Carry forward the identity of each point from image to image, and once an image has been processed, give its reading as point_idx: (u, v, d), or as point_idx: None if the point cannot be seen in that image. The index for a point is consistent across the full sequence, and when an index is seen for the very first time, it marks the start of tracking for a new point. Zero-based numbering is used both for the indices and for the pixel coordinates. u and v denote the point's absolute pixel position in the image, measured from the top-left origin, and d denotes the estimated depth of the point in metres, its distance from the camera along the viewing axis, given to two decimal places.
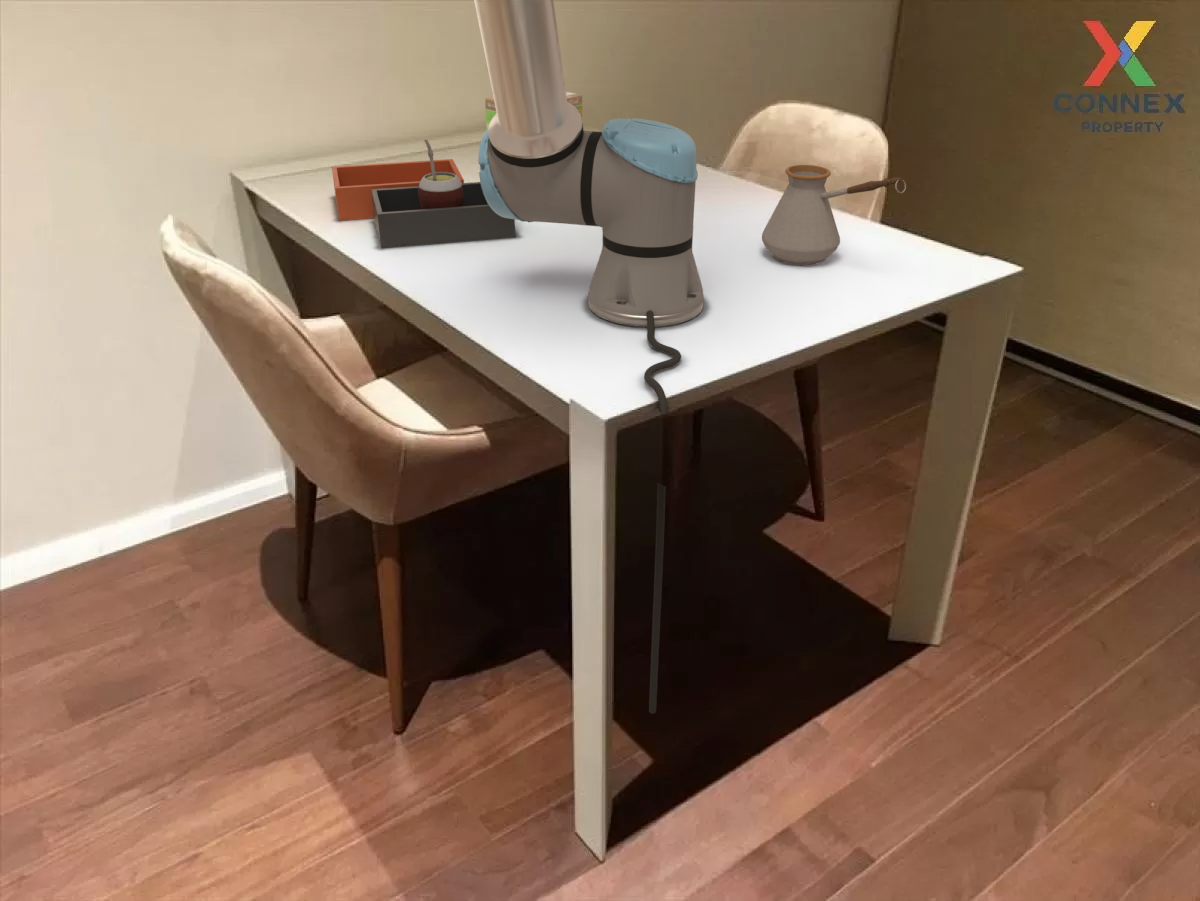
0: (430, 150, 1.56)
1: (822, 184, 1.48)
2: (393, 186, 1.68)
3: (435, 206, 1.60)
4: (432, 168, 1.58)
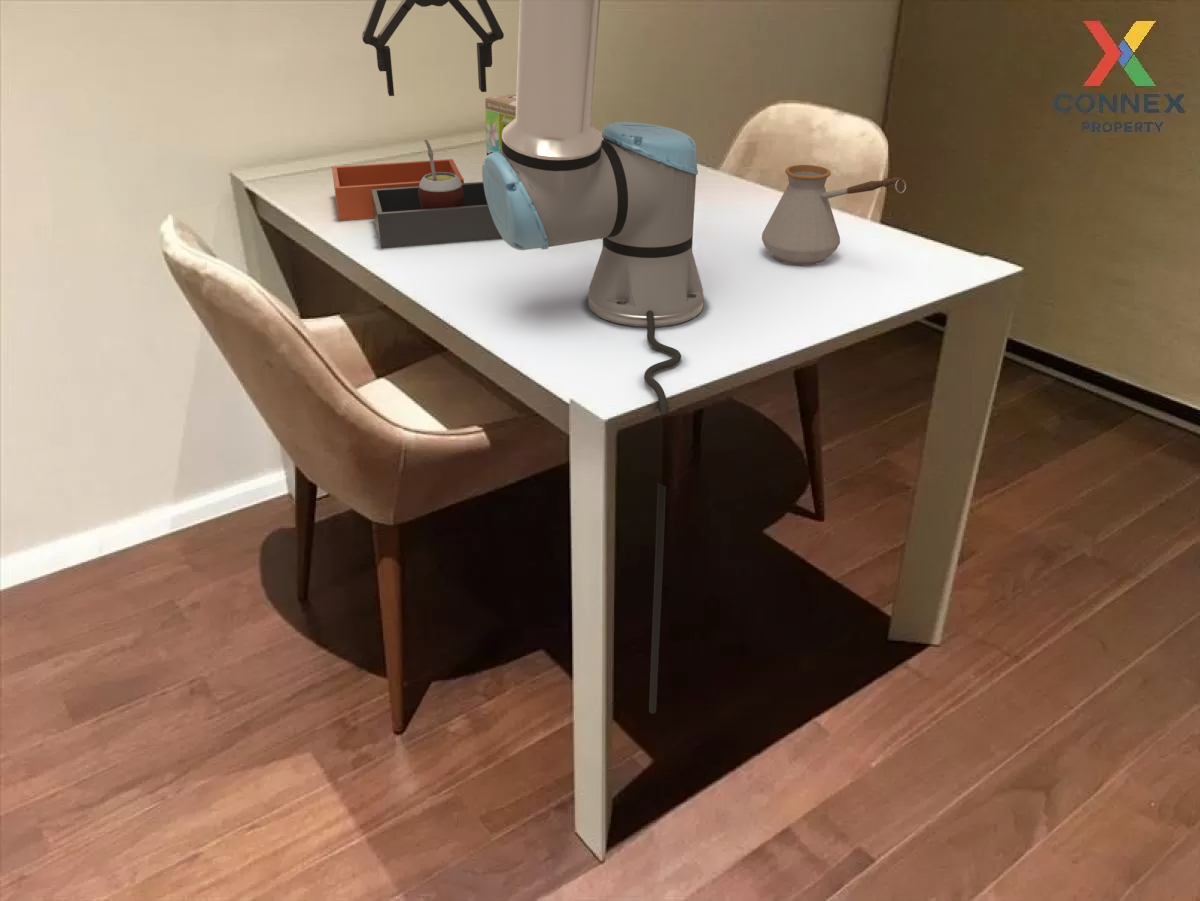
0: (430, 150, 1.56)
1: (822, 184, 1.48)
2: (393, 186, 1.68)
3: (435, 206, 1.60)
4: (432, 168, 1.58)
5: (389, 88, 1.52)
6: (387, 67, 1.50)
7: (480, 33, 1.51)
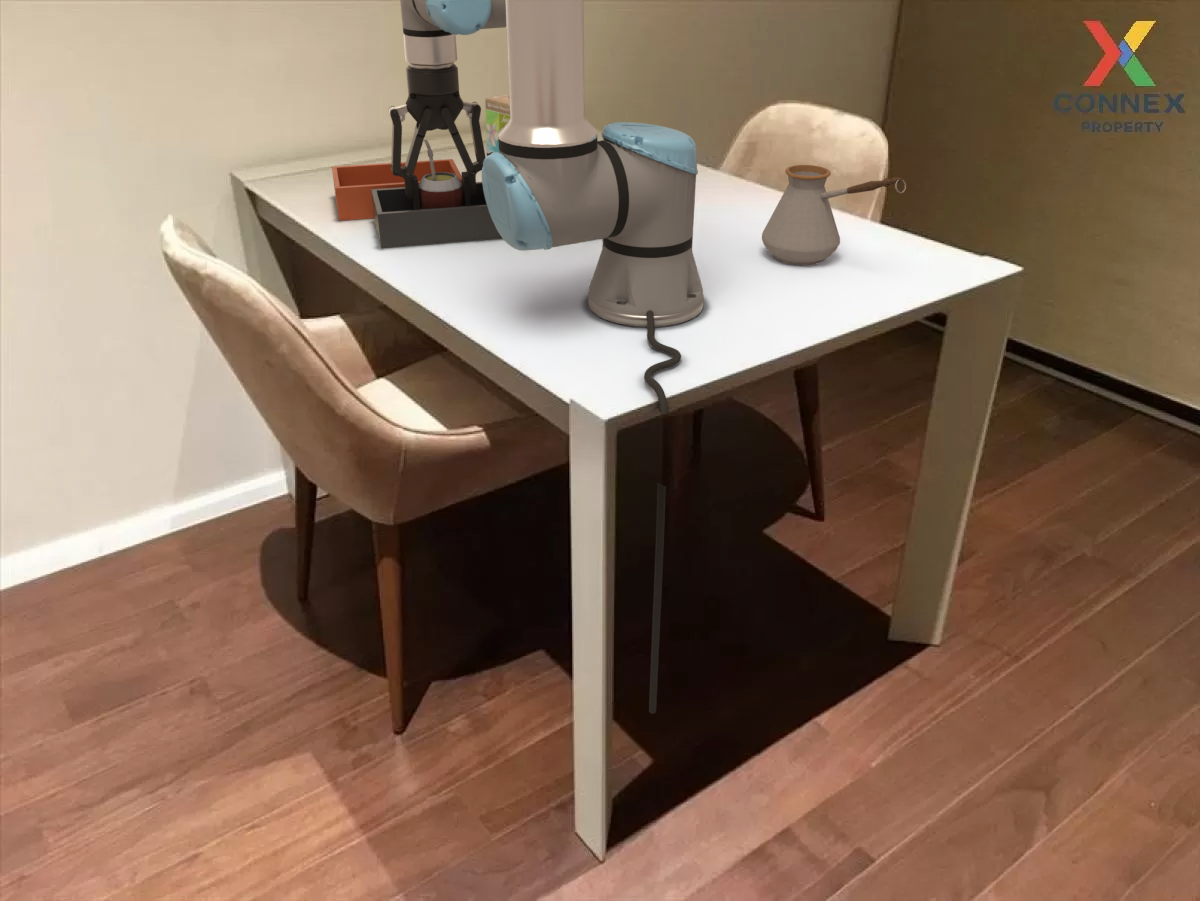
0: (430, 150, 1.56)
1: (822, 184, 1.48)
2: (393, 186, 1.68)
3: (435, 206, 1.60)
4: (432, 168, 1.58)
5: None
6: (415, 196, 1.60)
7: (467, 163, 1.60)
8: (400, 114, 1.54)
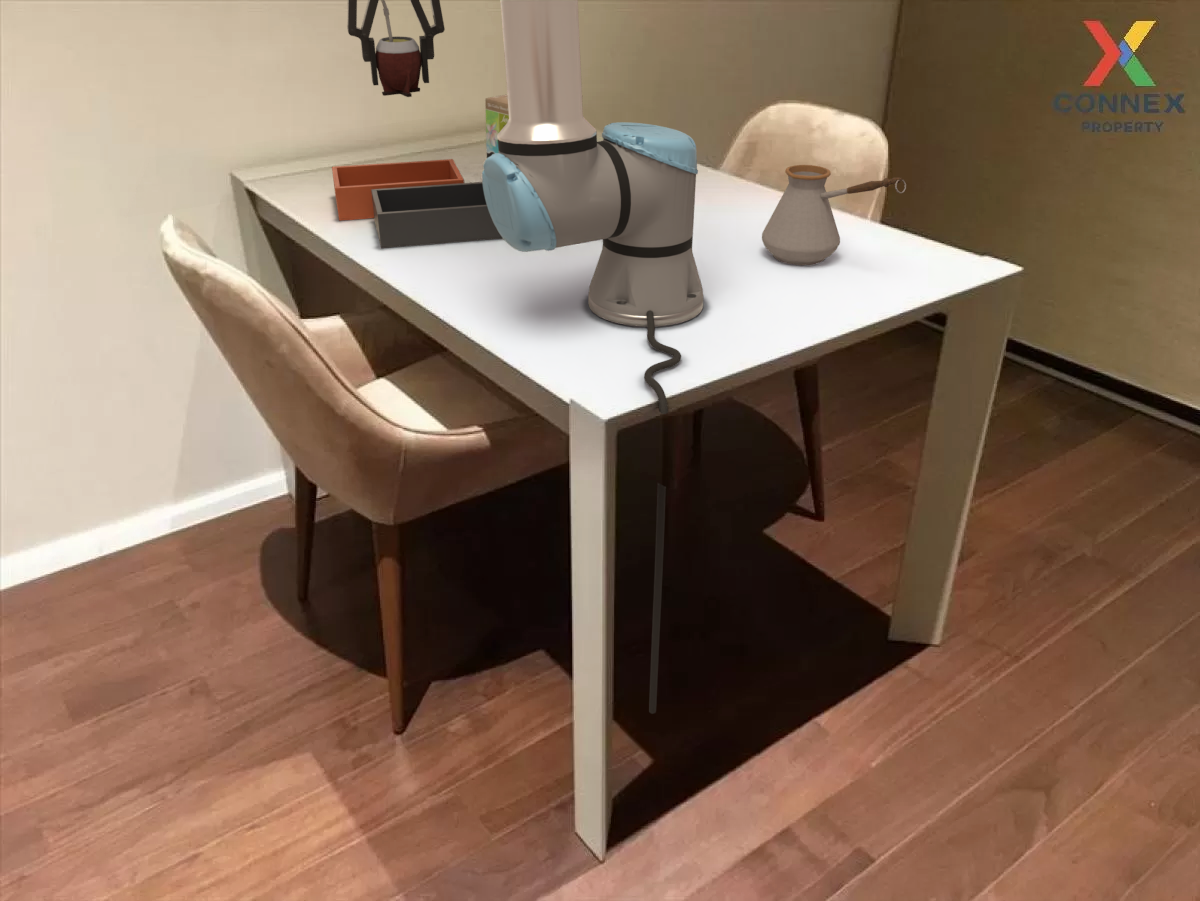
0: (385, 8, 1.54)
1: (822, 184, 1.48)
2: (393, 186, 1.68)
3: (392, 68, 1.59)
4: (388, 28, 1.57)
5: (373, 78, 1.60)
6: (371, 58, 1.58)
7: (424, 25, 1.58)
8: None
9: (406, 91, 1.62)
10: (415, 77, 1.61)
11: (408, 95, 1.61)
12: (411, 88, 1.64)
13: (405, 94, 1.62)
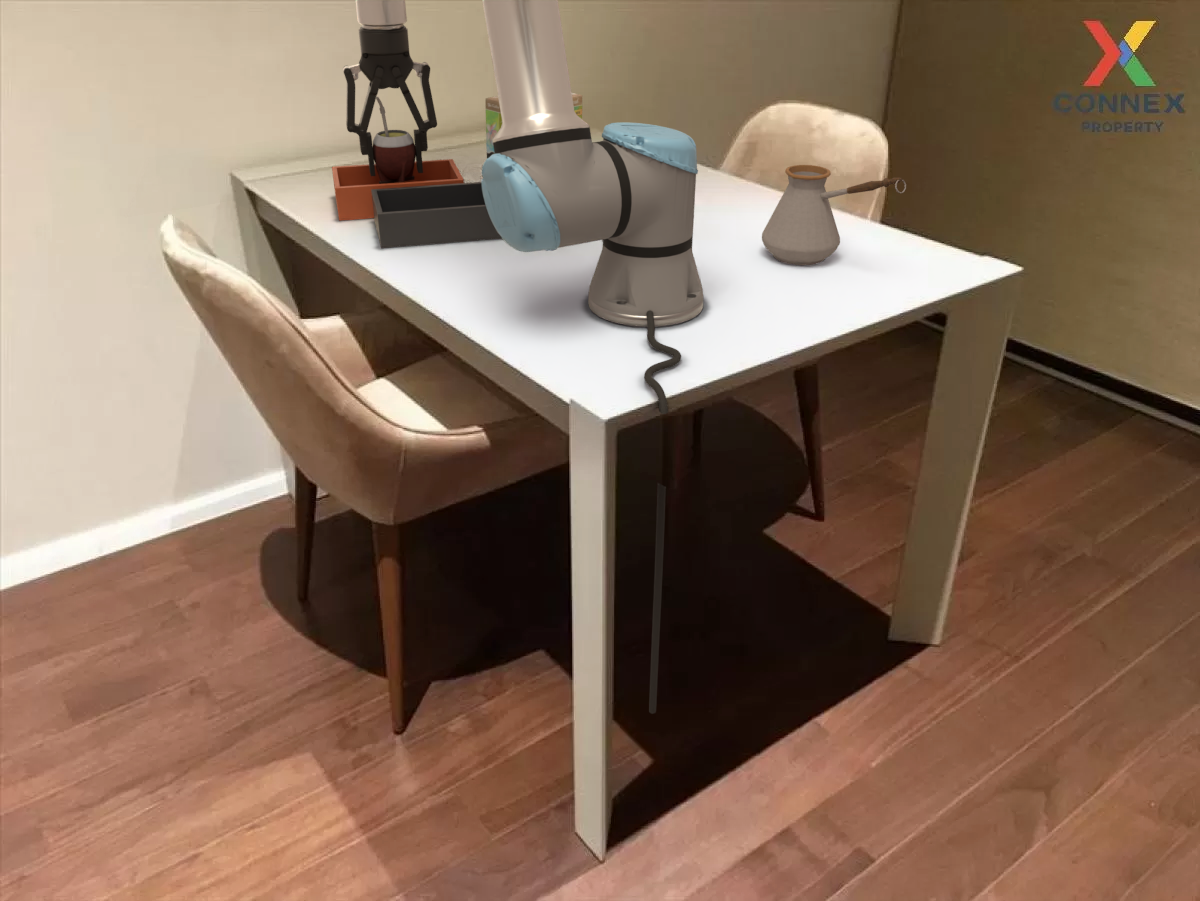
0: (382, 107, 1.65)
1: (822, 184, 1.48)
2: (393, 186, 1.68)
3: (388, 161, 1.70)
4: (384, 125, 1.68)
5: (371, 169, 1.71)
6: (369, 151, 1.70)
7: (418, 120, 1.69)
8: (353, 73, 1.64)
9: (401, 181, 1.73)
10: (410, 168, 1.72)
11: None
12: (406, 177, 1.75)
13: None
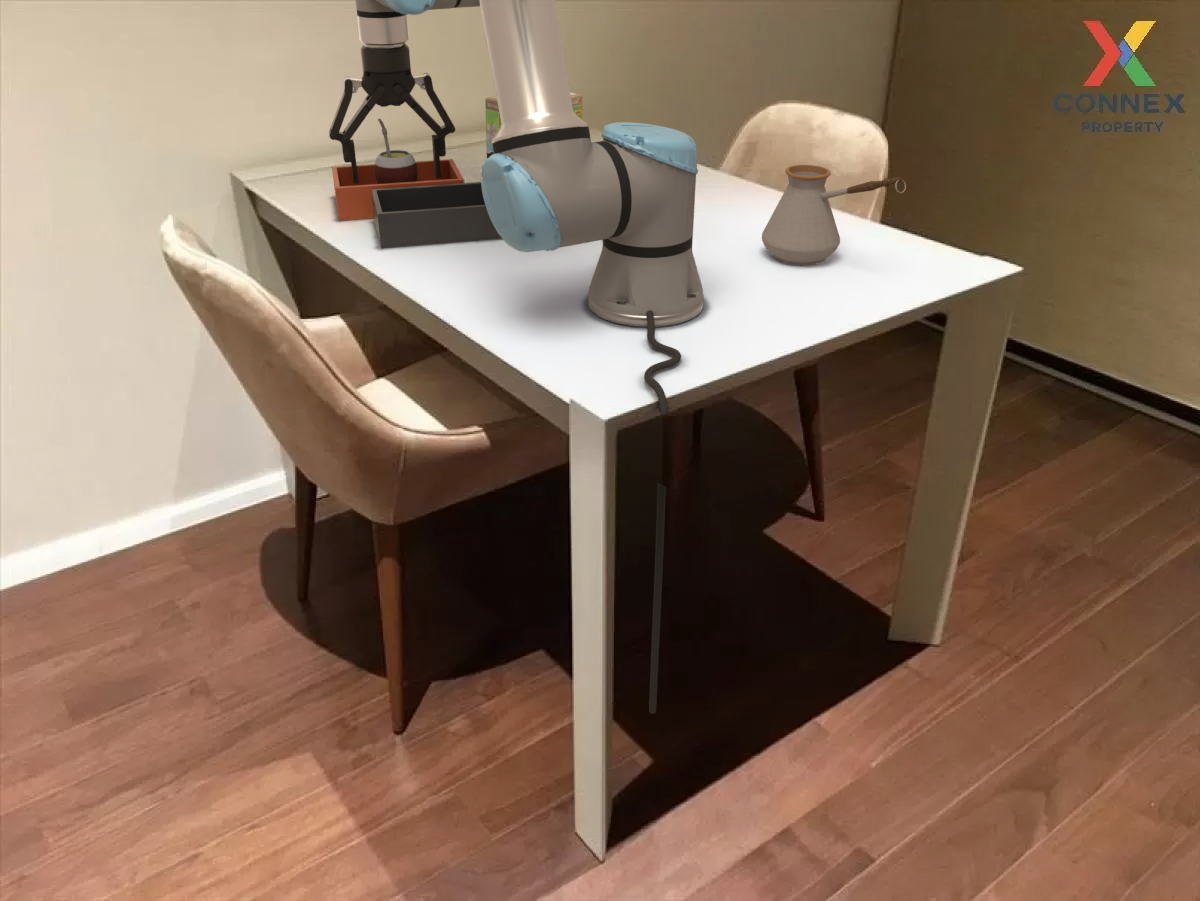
0: (384, 129, 1.67)
1: (822, 184, 1.48)
2: (393, 186, 1.68)
3: (390, 181, 1.71)
4: (386, 146, 1.69)
5: (354, 177, 1.71)
6: (352, 159, 1.69)
7: (434, 128, 1.70)
8: (353, 86, 1.65)
9: None
10: None
11: None
12: None
13: None
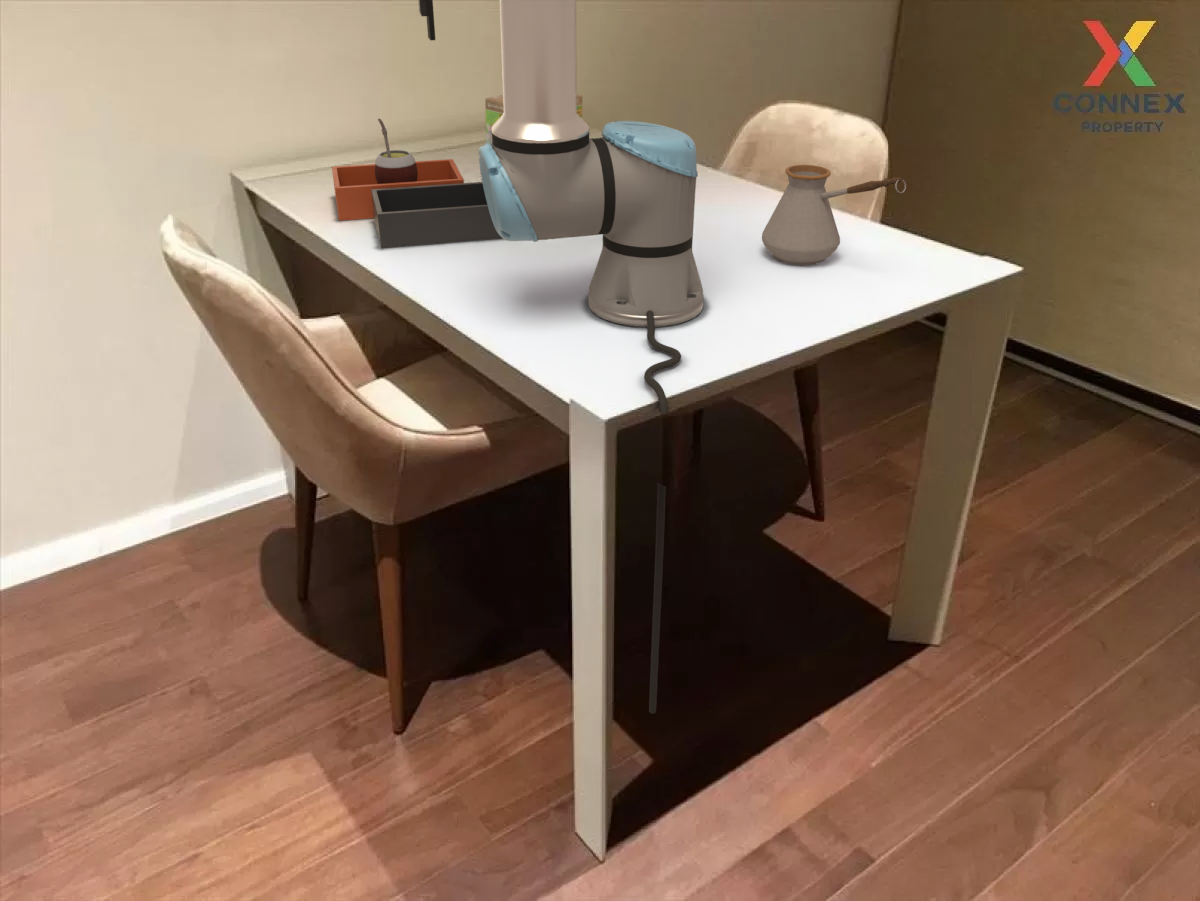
0: (384, 129, 1.67)
1: (822, 184, 1.48)
2: (393, 186, 1.68)
3: (390, 181, 1.71)
4: (386, 146, 1.69)
5: (431, 32, 1.59)
6: (429, 12, 1.57)
7: None
8: None
9: None
10: None
11: None
12: None
13: None
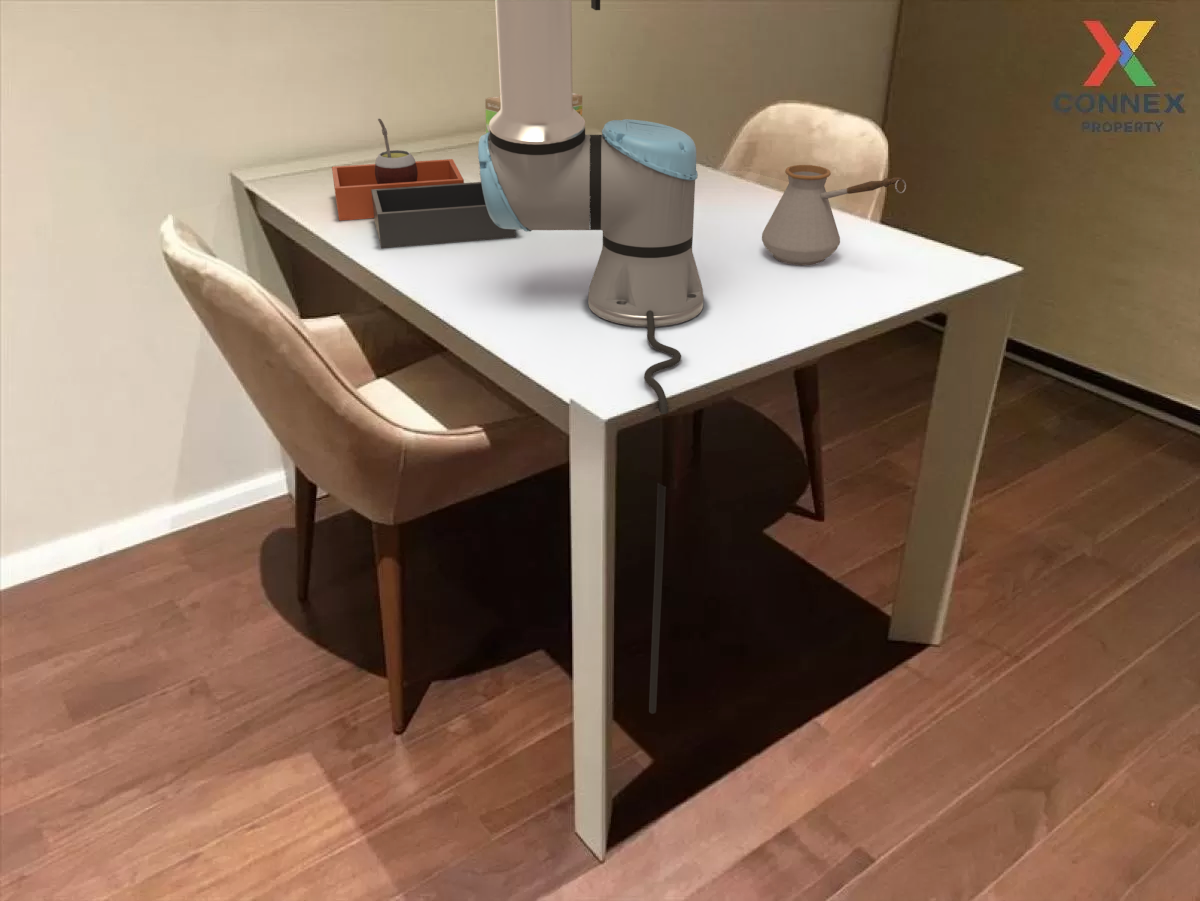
0: (384, 129, 1.67)
1: (822, 184, 1.48)
2: (393, 186, 1.68)
3: (390, 181, 1.71)
4: (386, 146, 1.69)
5: None
6: None
7: None
8: None
9: None
10: None
11: None
12: None
13: None
